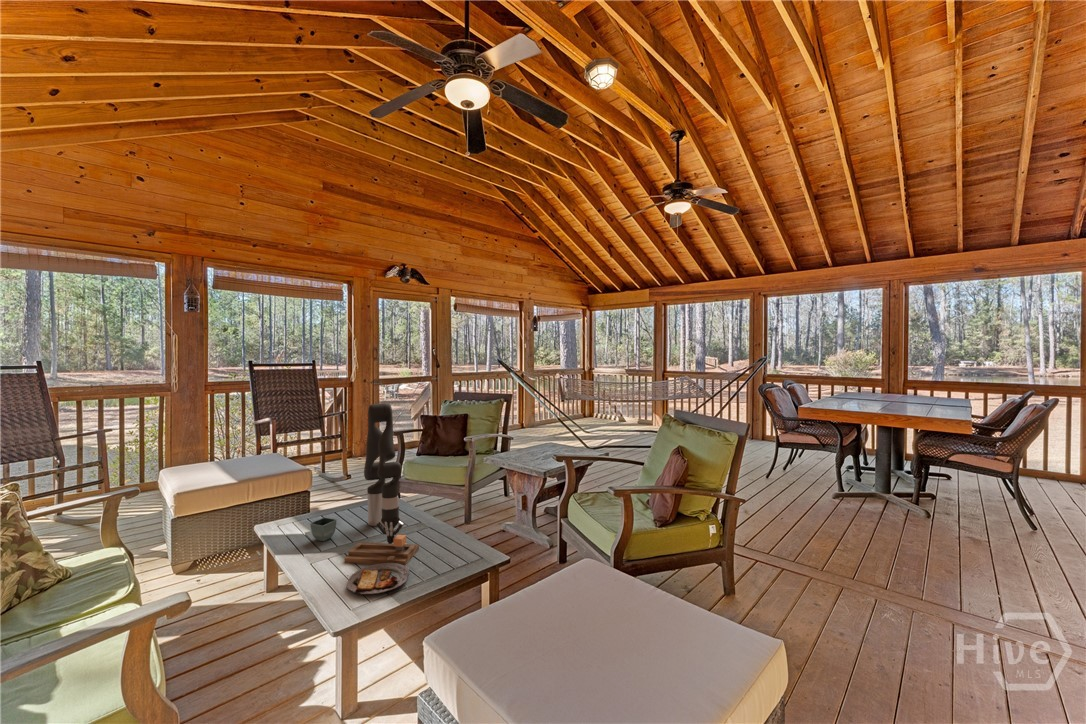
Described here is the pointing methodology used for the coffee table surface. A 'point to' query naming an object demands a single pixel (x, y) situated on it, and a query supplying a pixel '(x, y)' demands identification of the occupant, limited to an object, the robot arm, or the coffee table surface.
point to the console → (380, 553)
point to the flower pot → (323, 528)
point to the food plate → (371, 584)
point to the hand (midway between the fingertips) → (390, 543)
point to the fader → (399, 542)
